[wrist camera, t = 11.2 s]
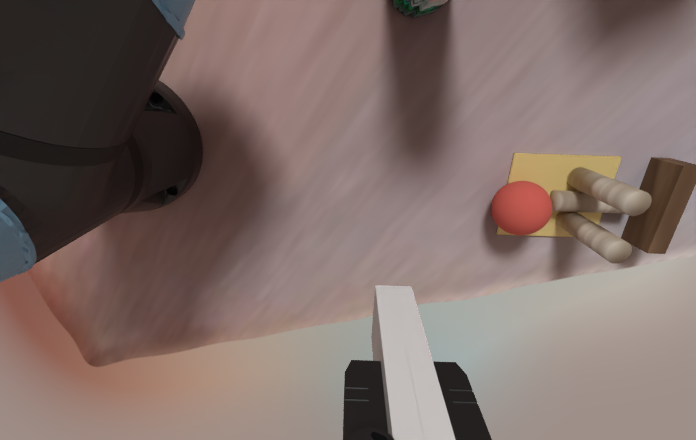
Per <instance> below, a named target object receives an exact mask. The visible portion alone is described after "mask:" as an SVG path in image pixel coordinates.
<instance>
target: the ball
mask: <svg viewBox="0 0 696 440" xmlns="http://www.w3.org/2000/svg"><path fill="white" fill-rule="evenodd" d="M491 212H492V216H493V219H494V221H495V222H496V224H497V225H498V226H499V227H500V228H501V229H502V230H504V231H506V232H508V233H510V234H514V235H529V234H532V233H535V232H537V231H539V230H540V229H542V228H543V227H544V226H545V225H546V224H547V222H548V221H549V219H550V217H551V214H552V201H551V198H550V196H549V194H548V193H547V192H546V191H545V190H544V189H543V188H542V187H541V186H539V185H537V184H535V183H533V182H529V181H516V182H512V183H509V184H507V185H505V186H503V187H502V188H501V189H500V190H499V191H498V192H497V193H496V195H495V196H494V198H493V200H492V205H491Z"/></svg>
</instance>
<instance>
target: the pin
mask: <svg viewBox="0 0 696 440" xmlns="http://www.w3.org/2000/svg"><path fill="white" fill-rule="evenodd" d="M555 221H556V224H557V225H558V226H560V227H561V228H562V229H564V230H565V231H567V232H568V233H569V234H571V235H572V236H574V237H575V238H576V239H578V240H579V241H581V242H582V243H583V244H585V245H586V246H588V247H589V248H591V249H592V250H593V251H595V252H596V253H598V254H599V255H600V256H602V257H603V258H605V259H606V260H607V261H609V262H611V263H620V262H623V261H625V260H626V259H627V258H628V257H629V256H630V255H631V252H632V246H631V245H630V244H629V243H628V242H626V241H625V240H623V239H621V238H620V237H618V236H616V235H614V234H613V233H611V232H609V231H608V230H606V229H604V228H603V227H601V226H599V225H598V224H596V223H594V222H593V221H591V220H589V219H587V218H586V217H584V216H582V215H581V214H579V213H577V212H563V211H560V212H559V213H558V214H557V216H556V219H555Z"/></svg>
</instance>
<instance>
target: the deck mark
mask: <svg viewBox="0 0 696 440" xmlns="http://www.w3.org/2000/svg"><path fill="white" fill-rule="evenodd" d="M621 158H622V157H619V156H588V155H556V154H525V153H514V155H513V159H512V164H511V169H510V173H509V178H508V182H507V184H509V183H512V182H516V181H529V182H533V183H535V184H537V185H539V186H541V187H542V188H543V189H544V190H545V191H546V192H547V193H548V194H549V196H550V193H551V191H553V190H561V191H579V190H577V189H575V188H573V187H571V186H570V185H569V184H568V183H567V177H568V174H569V173H570V172H571V171H572V170H573V169H575V168H578V167H583V168H586V169H589V170H591V171H594V172H596V173H599V174H601V175H604V176H607V177H609V178H612V179H614V178H615V175H616V172H617V169H618V167H619V164H620V161H621ZM559 212H560V211H552V214H551V217H550V219H549V221H548V222H547V224H546V225H545V226H544V227H543V228H542V229H540V230H539V231H537V232H535V233H532V234H529V235H525V236H557V237H574V236H572V235H571V234H569V233H568V232H567V231H565V230H564V229H562V228H561V227H560V226H558V225H557V224H556V221H555V219H556V216H557V214H558V213H559ZM577 213H579V214H581V215H582V216H584V217H586V218H587V219H589V220H591V221H593V222H594V223H596V224H598V225H599V222H600V219H601V216H602V213H591V212H577ZM496 234H497V235H514V234H510V233H508V232H506V231H504V230H502V229H501V228H500V227H499V226H498V228H497V233H496Z"/></svg>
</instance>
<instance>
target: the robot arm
mask: <svg viewBox="0 0 696 440" xmlns="http://www.w3.org/2000/svg"><path fill="white" fill-rule="evenodd" d="M194 2H195V0H0V282H1V281H4V280H6V279H8V278H10V277H13V276H15V275H17V274H21V273H23V272H25V271H27V270H29V269H31V268H32V267H33V265H34V264H35V263H37V262H39V261H40V260H42V259H44V258H45V257H47V256H49V255H50V254H52V253H54V252H56V251H57V250H59V249H61V248H62V247H64V246H66V245H67V244H69V243H71V242H72V241H74V240H76V239H77V238H79V237H81V236H82V235H84V234H86V233H87V232H89V231H91V230H92V229H94V228H96V227H98V226H99V225H101V224H103V223H104V222H106V221H108V220H109V219H111V218H113V217H114V216H116V215H118V214H119V213H128V212H139V211H148V210H153V209H157V208H160V207H163V206H165V205H167V204H169V203H171V202H173V201H174V200H176V199H177V198H179V197H180V196H181V195H183V194H184V193H185V192H186V191H187V190H188V189H189V188H190V187H191V186H192V185H193V183H194V182H195V180H196V178H197V176H198V174H199V171H200V167H201V163H202V142H201V137H200V133H199V130H198V127H197V124H196V122H195V120H194V118H193V116H192V114H191V112H190V111H189V109H188V108H187V106H186V105H185V104H184V102H183V101H182V100H181V99H180V98H179V97H178V95H177V94H176V93H175V92H173V91H172V90H171V89H170V88H169V87H168V86H166V85H165V84H164V83H162V82H161V81H159V78H160V76H161V74H162V72H163V70H164V68H165V66H166V64H167V62H168V59H169V57H170V55H171V53H172V51H173V49H174V47H175V45H176V43H177V41H178V39H181V40H182V39H183V37H184V35H185V31H184V25H185V23H186V21H187V18H188V16H189V14H190V11H191V9H192V7H193V4H194ZM372 348H373V361H362V360H361V361H360V360H351V362H350V364H349V366H348V368H347V369H346V371H345V387H344V421H343V422H344V423H343V440H492V439H491V437H490V434H489V432H488V429H487V426H486V424H485V421H484V419H483V417H482V413H481V411H480V408H479V406H478V404H477V401H476V398H475V395H474V393H473V392H472V388H471V385H470V383H469V380H468V377H467V375H466V374H465V373H464V371H463V370H462V369H461V368H460V367H459V366H458V365H457V364H456V362H433V360H432V356H431V353H430V349H429V346H428V343H427V339H426V336H425V332H424V329H423V325H422V322H421V318H420V315H419V311H418V308H417V304H416V301H415V297H414V294H413V290H412V287H409V286H377V285H375V297H374V311H373V325H372Z"/></svg>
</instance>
